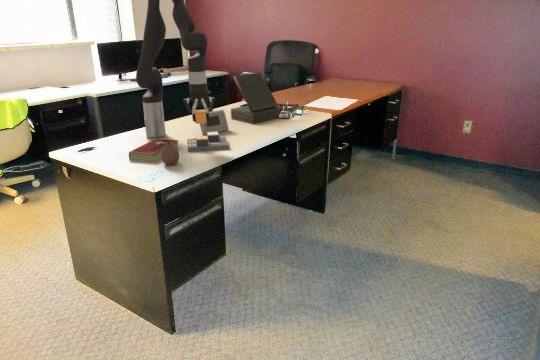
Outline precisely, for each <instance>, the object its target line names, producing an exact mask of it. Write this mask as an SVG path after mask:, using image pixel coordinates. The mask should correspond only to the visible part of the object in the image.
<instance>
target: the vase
mask: <svg viewBox="0 0 540 360" xmlns="http://www.w3.org/2000/svg"><path fill="white" fill-rule="evenodd" d="M161 157H162V158H161V160H162V162H163V164H164V165H165V166H170V167H171V166H176V165H177V164H178V163H179V160H180V153H179V150H178V148H177V149H176V148H175V147H174V146H173V144H172V143H166V145H165V147H164V148H163V150H162V153H161Z"/></svg>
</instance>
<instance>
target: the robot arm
mask: <svg viewBox="0 0 540 360" xmlns="http://www.w3.org/2000/svg"><path fill="white" fill-rule="evenodd" d="M160 1H161V0H147V9H146V18H145V22H144V23H145V25H144V29H143V30H144V31H143V40H142V46H141V51H140V57H139V61H138V66H137V68H136V69H137V70H136V75H135V79H136V80H135V81H136V83H137V85H138V87H140V88H141V89H146V91H145V93H144V94H143V95H142V97H141V98H142V106H143V107H142V108H143V114H144V115H143V116H144V126H145V127H144V128H145V135H146V138H149V139H150V138H151V139H159V138H163V137H166V134H167V133H166V124H165V115H164V107H163V97H164V96H163V95H164V91H163V90H164V89H163V75H162V73H161V71H160V69H158V68H157V67H155V66H154V62H155V60H156V58H157V57H158V55H159V53H160V52H161V50H162V48H163V46H164V43H165V39H166V34H167V28H166V23H165V20H164V18H163V16H162V15H163V14H162V12H161V9H160ZM171 1H172V3H173V8H172V18H173V22H174V24H175V25H176V27H177V29H178V32H179V36H180V42H181V46H182V48H183V49H184V50H186V51H188V52H189V51H190V52H193V51H195V54H194V55H192V56H189V57H188V58H187V67H188V68H187V69H188V70H187V71H188V87H189V97H187V98H183V103H184V106H185V108H186V109H185V110H186V111H187V113H189V114H192V115H191V118H192V122H194V123H196V117H195V110H197V107H203V108H204V110H205V111H206V122H208V120H209V112H211V111H214V107H215V106H214V105H215V101H216V98H215V96H214V97H213V96H210V95H209V93H208V83H207V82H208V81H207V80H208V79H207V74H206V63H205V62H206V56H207V48H208V42H209V41H208V37H207V36H206V34H205V33H204V32H202V31H200V32H199V31H197V32H196V31H195V29H196V24H195V22H194V20H193V18H192V16H191V15H190V12H189V11H188V9H187V5H186V3H185V1H184V0H171ZM194 31H195V32H194ZM208 101H209V102H210V105H209V108H208V106H207V103H208ZM190 102H191V103H192V109H190V105H189V103H190Z"/></svg>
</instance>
